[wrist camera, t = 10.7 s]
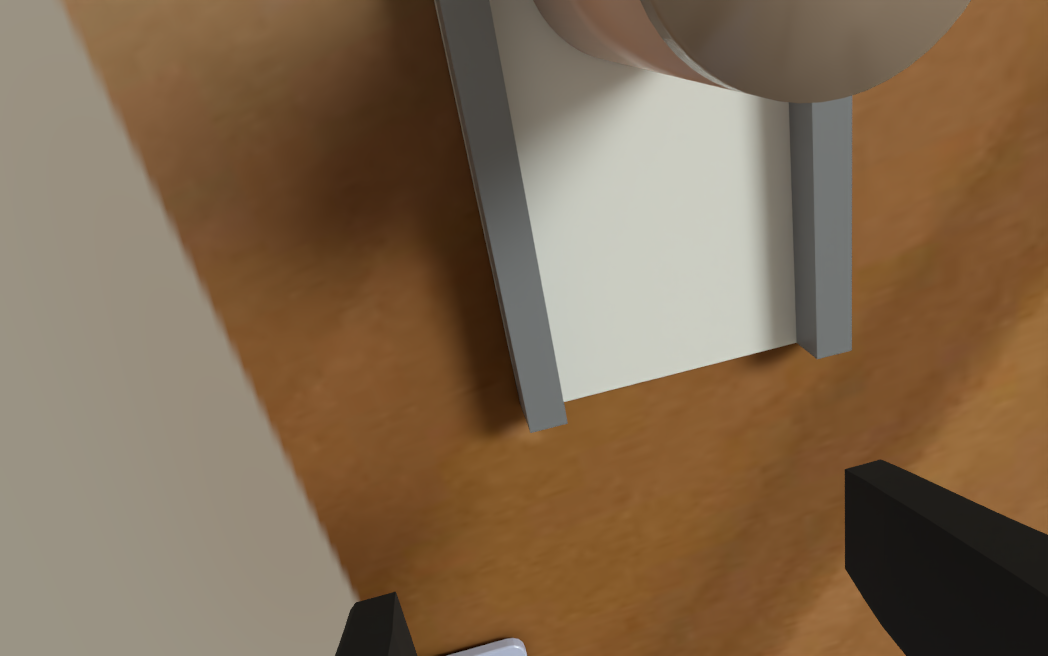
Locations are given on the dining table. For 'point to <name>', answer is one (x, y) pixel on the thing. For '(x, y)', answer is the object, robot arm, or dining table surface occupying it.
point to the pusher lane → (643, 211)
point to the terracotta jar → (759, 40)
